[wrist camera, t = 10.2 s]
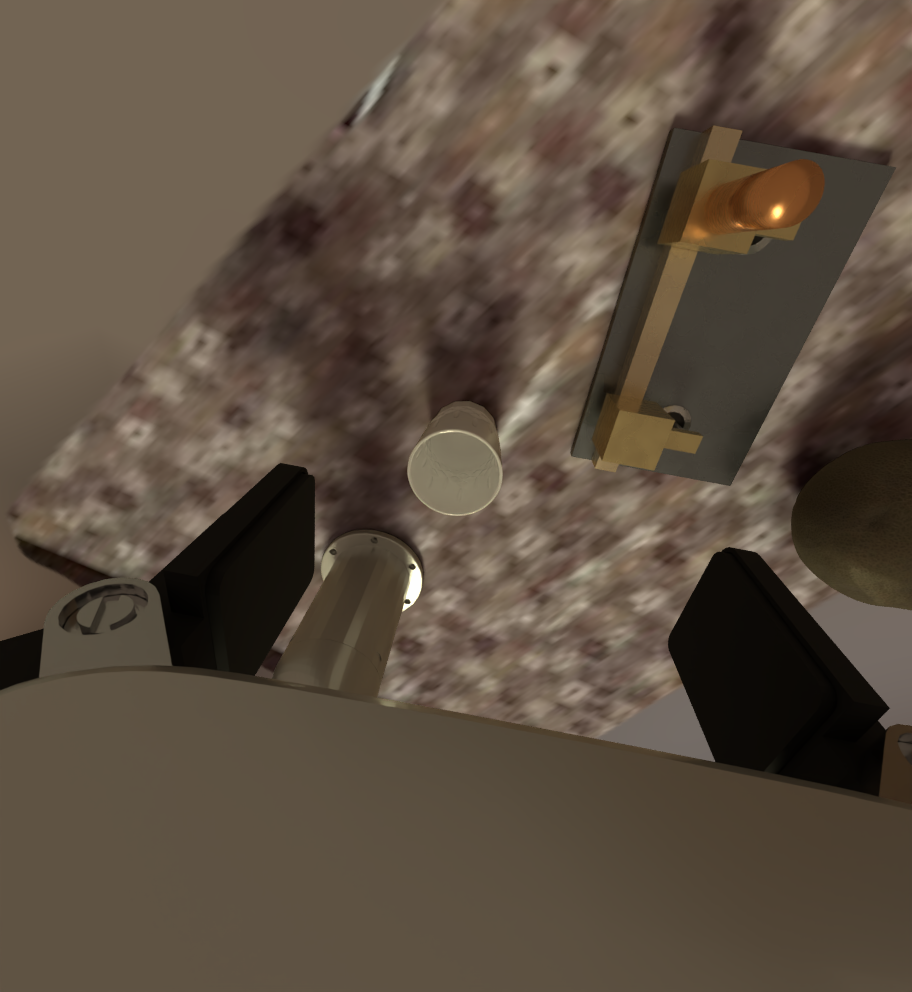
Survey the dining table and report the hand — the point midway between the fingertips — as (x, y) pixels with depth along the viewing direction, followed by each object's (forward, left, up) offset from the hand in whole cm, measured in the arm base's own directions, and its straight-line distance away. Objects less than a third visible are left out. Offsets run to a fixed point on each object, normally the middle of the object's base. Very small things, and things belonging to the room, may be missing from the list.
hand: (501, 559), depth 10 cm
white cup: (-10, +2, -34) cm, 36 cm away
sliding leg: (+11, -14, -33) cm, 37 cm away
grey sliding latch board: (+3, -17, -34) cm, 38 cm away
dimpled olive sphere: (-8, -35, -34) cm, 50 cm away
